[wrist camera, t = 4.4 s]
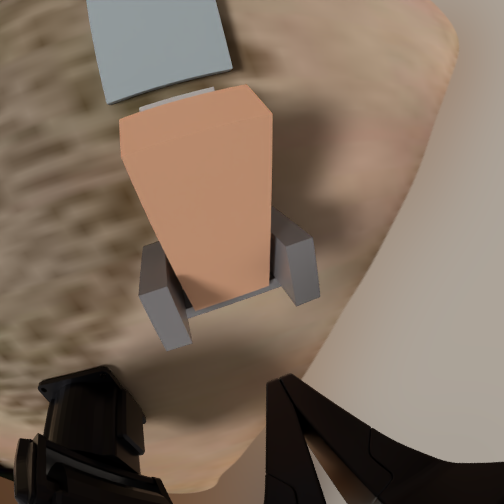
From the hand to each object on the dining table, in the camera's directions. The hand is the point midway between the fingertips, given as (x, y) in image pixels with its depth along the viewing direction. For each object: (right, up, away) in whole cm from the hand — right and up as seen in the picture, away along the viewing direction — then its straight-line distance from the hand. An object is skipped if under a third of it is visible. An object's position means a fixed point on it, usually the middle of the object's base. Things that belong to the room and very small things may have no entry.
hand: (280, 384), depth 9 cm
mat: (-6, +17, +1) cm, 18 cm away
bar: (-3, +6, +3) cm, 7 cm away
